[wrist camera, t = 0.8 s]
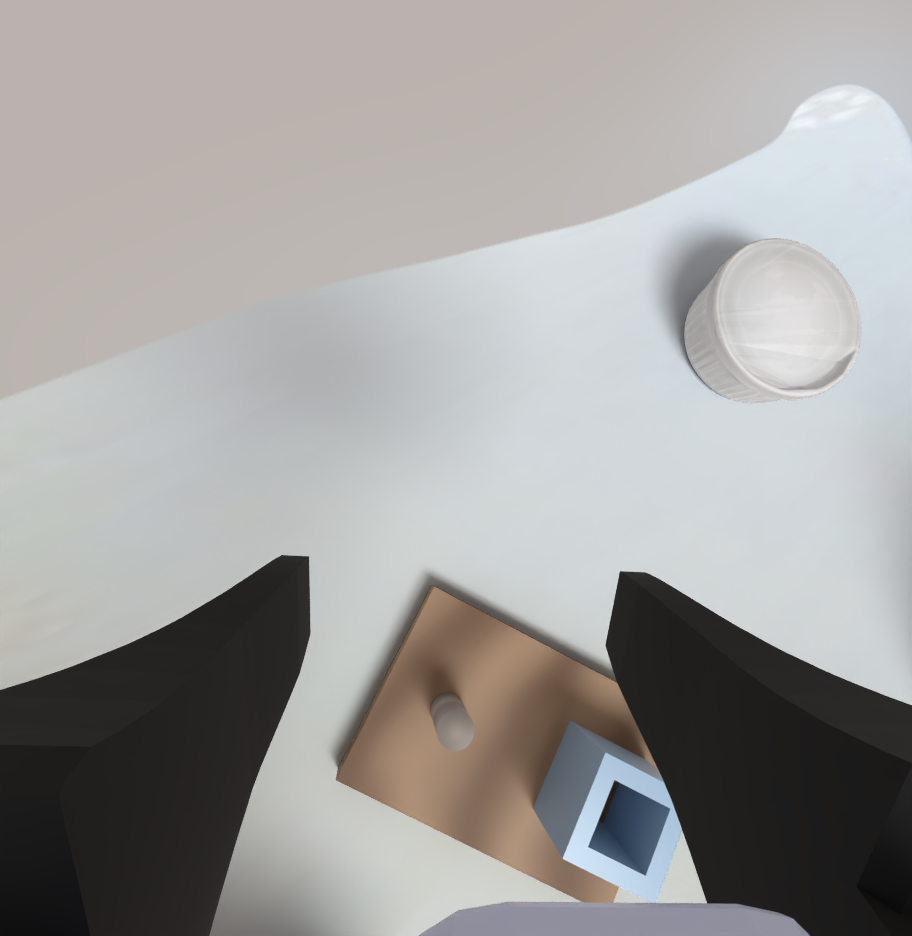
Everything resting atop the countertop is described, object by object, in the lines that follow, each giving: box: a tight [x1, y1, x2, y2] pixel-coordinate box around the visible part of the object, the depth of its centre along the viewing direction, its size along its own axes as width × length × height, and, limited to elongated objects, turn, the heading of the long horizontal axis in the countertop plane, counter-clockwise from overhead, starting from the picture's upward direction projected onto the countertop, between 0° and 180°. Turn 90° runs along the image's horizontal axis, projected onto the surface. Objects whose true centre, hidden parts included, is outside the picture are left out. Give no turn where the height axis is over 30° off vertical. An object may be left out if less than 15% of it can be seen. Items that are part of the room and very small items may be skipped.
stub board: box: [336, 585, 658, 903], centre depth 30 cm, size 18×12×5 cm, turn 63°
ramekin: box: [684, 239, 861, 403], centre depth 37 cm, size 11×11×5 cm
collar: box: [533, 721, 682, 903], centre depth 28 cm, size 5×5×5 cm
